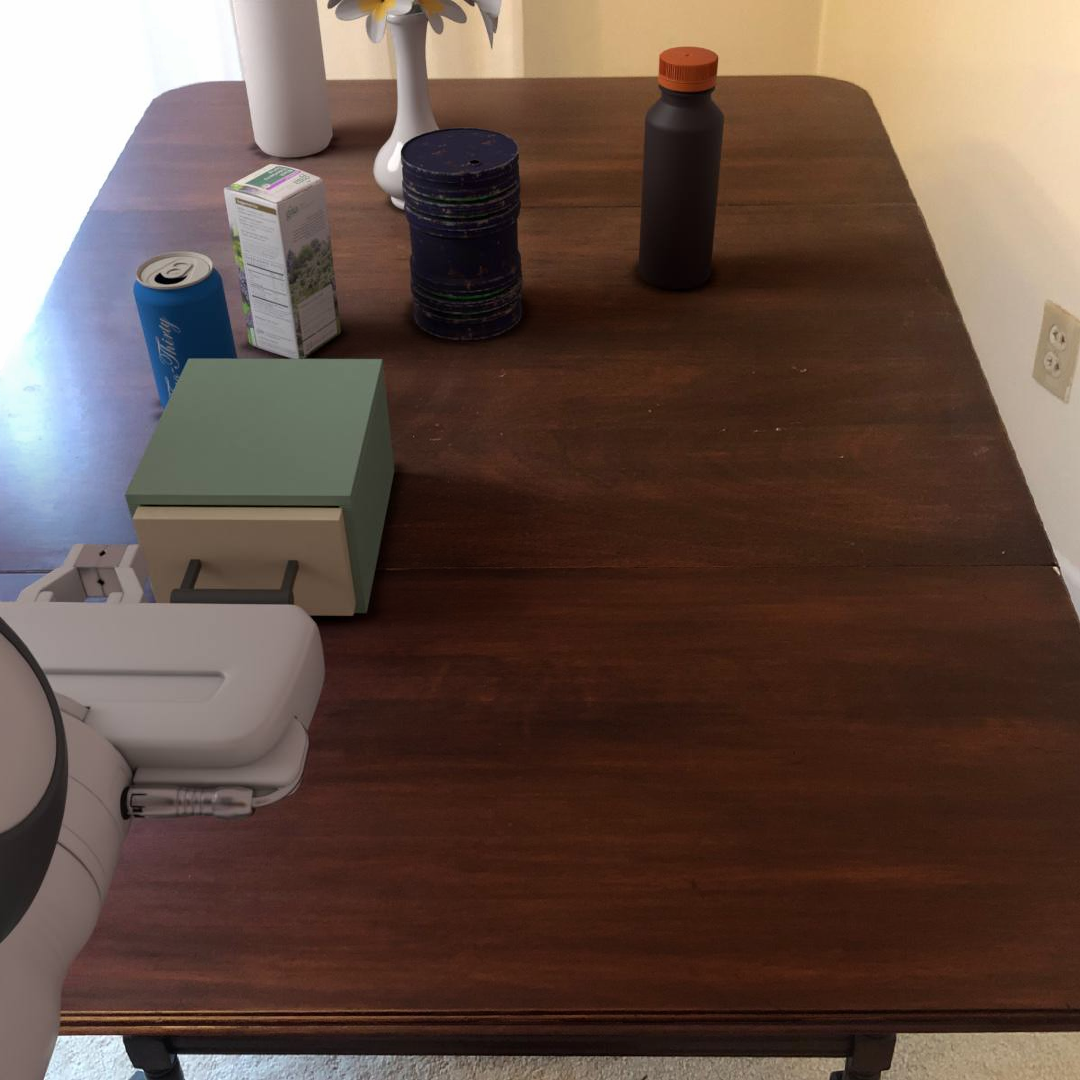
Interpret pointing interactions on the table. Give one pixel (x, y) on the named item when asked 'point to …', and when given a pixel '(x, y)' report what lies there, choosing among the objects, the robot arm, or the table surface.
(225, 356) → the beverage can
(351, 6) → the flower vase
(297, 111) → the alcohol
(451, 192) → the dark blue cylinder
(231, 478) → the cabinet
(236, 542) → the drawer
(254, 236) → the syrup box
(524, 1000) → the table surface
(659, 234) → the bottle
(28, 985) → the robot arm
